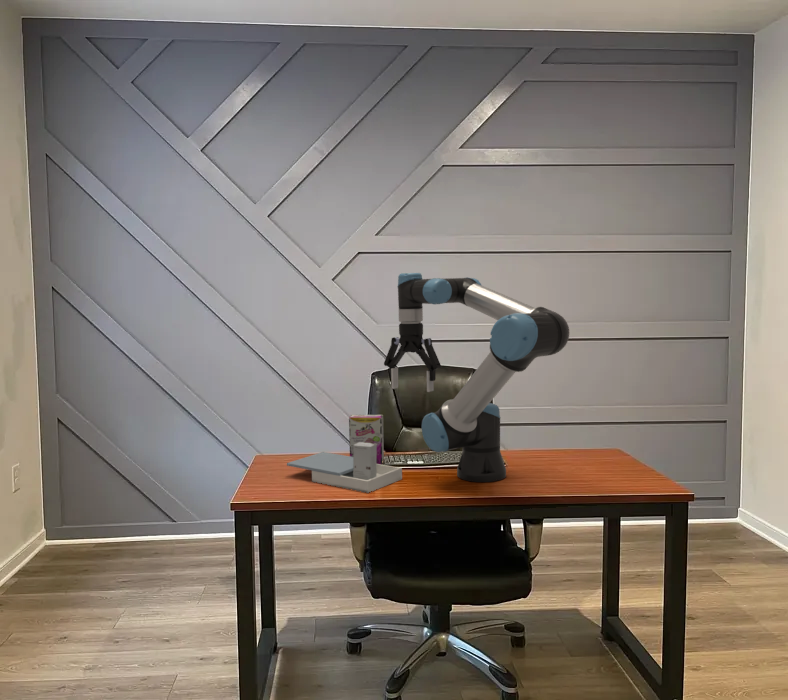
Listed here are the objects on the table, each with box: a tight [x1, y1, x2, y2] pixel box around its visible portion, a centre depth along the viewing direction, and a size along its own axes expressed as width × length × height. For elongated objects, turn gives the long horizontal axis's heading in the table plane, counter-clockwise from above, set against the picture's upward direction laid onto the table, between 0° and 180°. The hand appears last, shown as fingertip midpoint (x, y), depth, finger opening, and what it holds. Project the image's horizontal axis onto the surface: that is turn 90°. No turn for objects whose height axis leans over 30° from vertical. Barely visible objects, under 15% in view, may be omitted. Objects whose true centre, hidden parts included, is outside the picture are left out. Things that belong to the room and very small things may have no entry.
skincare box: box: [353, 442, 377, 480], centre depth 208 cm, size 6×4×12 cm
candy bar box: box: [348, 414, 385, 465], centre depth 234 cm, size 11×5×16 cm, turn 84°
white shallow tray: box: [311, 464, 403, 494], centre depth 215 cm, size 22×17×4 cm
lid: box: [286, 451, 353, 476], centre depth 220 cm, size 22×17×5 cm
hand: (412, 389), depth 219 cm, fingers open, 13 cm apart
